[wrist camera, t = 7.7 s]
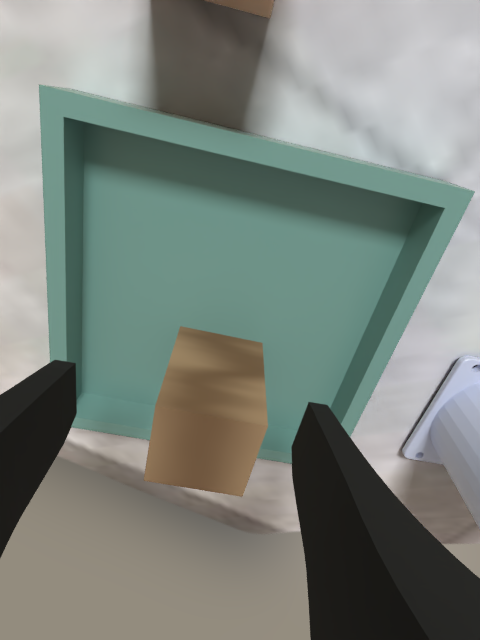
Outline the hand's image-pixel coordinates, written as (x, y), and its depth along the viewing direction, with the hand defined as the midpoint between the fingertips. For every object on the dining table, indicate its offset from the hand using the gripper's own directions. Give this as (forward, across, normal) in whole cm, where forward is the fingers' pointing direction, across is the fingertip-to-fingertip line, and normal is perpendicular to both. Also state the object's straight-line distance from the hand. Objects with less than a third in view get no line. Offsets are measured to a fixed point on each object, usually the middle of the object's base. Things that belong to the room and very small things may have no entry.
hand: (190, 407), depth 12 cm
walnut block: (+8, -1, +4) cm, 9 cm away
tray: (+8, -1, 0) cm, 9 cm away
